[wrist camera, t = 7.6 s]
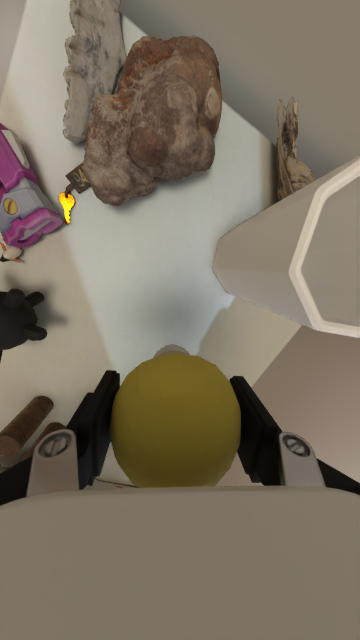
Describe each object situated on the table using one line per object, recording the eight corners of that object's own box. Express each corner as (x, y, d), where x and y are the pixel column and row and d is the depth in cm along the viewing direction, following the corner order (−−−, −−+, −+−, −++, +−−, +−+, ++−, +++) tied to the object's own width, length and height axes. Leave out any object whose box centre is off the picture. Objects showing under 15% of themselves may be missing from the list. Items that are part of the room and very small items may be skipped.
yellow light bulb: (161, 401, 17) (155, 563, 8) (117, 346, 16) (41, 472, 6) (222, 365, 17) (296, 493, 7) (184, 305, 15) (217, 369, 6)
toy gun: (-10, 254, 23) (52, 210, 21) (-76, 159, 20) (-13, 102, 19) (15, 256, 26) (70, 218, 24) (-40, 174, 24) (17, 126, 22)
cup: (252, 310, 31) (371, 370, 13) (197, 271, 28) (252, 281, 10) (297, 250, 28) (516, 224, 11) (242, 203, 26) (407, 70, 8)
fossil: (76, -144, 16) (71, -271, 12) (143, -70, 19) (157, -151, 15) (61, 143, 23) (54, 124, 19) (112, 166, 26) (116, 155, 22)
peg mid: (57, 409, 33) (24, 451, 26) (38, 414, 33) (0, 459, 26) (47, 393, 32) (10, 432, 25) (28, 399, 32) (-15, 440, 25)
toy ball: (-70, 306, 24) (-45, 239, 19) (29, 320, 33) (62, 276, 28) (-91, 385, 19) (-66, 320, 15) (31, 377, 28) (72, 335, 23)
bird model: (324, 276, 24) (290, 279, 28) (354, 257, 25) (317, 263, 30) (275, 82, 18) (243, 126, 23) (316, 71, 20) (278, 115, 24)
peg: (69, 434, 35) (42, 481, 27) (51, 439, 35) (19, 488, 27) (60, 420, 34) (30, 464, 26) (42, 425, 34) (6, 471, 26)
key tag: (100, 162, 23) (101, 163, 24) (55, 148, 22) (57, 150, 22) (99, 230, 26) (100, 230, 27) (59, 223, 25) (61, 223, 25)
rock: (145, 237, 30) (155, 250, 22) (70, 172, 24) (45, 156, 16) (225, 129, 26) (275, 95, 17) (159, 12, 19) (188, -127, 11)
